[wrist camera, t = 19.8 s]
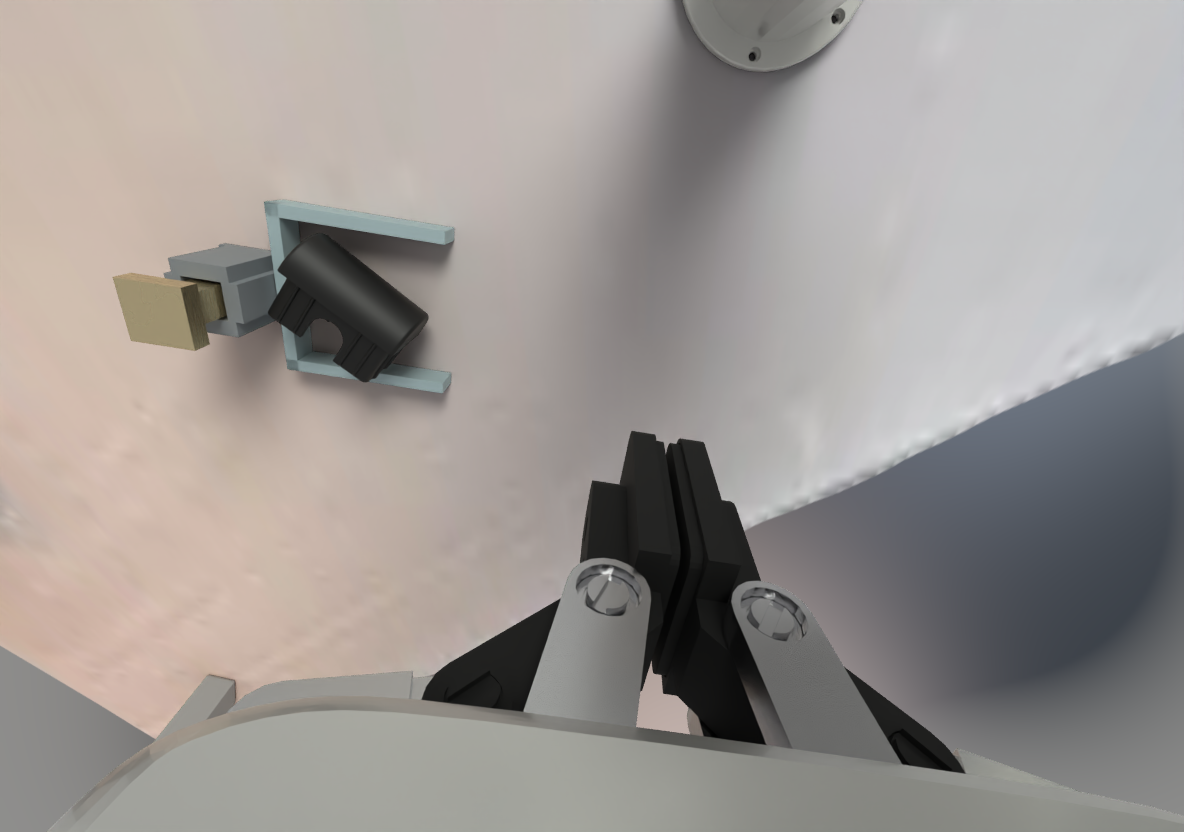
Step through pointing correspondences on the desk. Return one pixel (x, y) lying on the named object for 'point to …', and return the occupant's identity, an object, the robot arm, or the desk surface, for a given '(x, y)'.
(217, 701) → the vintage mobile phone
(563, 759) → the robot arm
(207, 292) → the pin
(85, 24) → the desk surface
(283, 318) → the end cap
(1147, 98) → the desk surface
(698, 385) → the desk surface
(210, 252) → the u-shaped bracket with socket
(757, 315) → the desk surface
